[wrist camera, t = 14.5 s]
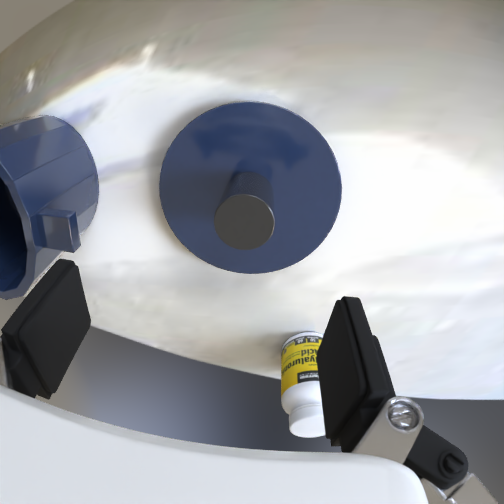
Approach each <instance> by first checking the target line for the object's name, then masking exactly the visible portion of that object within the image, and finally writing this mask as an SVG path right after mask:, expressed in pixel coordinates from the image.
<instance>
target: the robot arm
mask: <svg viewBox="0 0 504 504" xmlns="http://www.w3.org/2000/svg"><path fill="white" fill-rule="evenodd" d="M90 324H91V319H90V315H89V311H88V307H87V303H86V299H85V295H84V291H83V287H82V282H81V278H80V273H79V268H78V266H76V265H75V263H74V261H71V260H65V259H59V260H57V261H56V262H55V264H54V265H53V266H52V267H51V268H50V269H49V270H48V272H47V273H46V274H45V275H44V276H43V277H42V279H41V280H40V281H39V282H38V283H37V285H36V286H35V287H34V288H33V289H32V291H31V292H30V293H29V294H28V295H27V297H26V298H25V299H24V300H23V302H22V303H21V304H20V305H19V307H18V308H17V309H16V311H15V312H14V313H13V315H12V316H11V317H10V319H9V320H8V321H7V323H6V324H5V325H4V327H3V328H2V329H1V331H2V333H3V334H2V335H1V337H0V504H499V503H498V502H497V500H496V499H495V498H494V497H493V496H492V494H491V493H490V492H489V491H488V490H487V488H486V487H485V486H484V485H483V484H482V482H481V481H480V480H479V479H478V478H477V476H476V475H475V474H474V473H471V474H469V473H468V461H467V458H466V456H465V454H464V453H463V452H462V451H461V450H460V449H459V448H457V447H456V446H454V445H452V444H451V443H450V442H448V441H447V440H445V439H444V438H442V437H441V436H439V435H438V434H436V433H435V432H433V431H431V430H430V429H429V428H427V427H426V426H424V425H423V422H424V415H423V412H422V410H421V408H420V407H419V405H418V404H417V403H416V402H414V401H413V400H412V399H409V398H407V397H402V396H398V397H396V395H395V391H394V388H393V385H392V381H391V378H390V375H389V372H388V368H387V365H386V362H385V359H384V356H383V353H382V350H381V347H380V344H379V341H378V339H377V337H376V336H375V335H372V333H371V330H370V327H369V324H368V321H367V318H366V315H365V312H364V309H363V306H362V303H361V301H360V299H359V298H357V297H346V296H344V297H342V299H341V300H337V301H336V303H335V306H334V308H333V311H332V314H331V317H330V319H329V322H328V325H327V328H326V330H325V333H324V335H323V338H322V341H321V343H320V346H319V348H318V351H317V356H316V361H317V369H318V376H319V384H320V392H321V400H322V409H323V418H324V427H325V435H326V438H327V439H330V440H331V446H341V450H342V452H343V453H333V452H332V453H331V452H289V451H288V452H287V451H271V450H270V451H269V450H255V449H243V448H233V447H224V446H216V445H208V444H201V443H195V442H189V441H182V440H176V439H172V438H166V437H161V436H156V435H151V434H147V433H143V432H138V431H134V430H130V429H126V428H122V427H118V426H115V425H111V424H108V423H104V422H101V421H97V420H94V419H90V418H87V417H84V416H81V415H78V414H75V413H72V412H69V411H66V410H63V409H61V408H58V407H55V406H52V405H49V404H47V403H45V402H42V401H39V400H37V399H35V396H36V395H38V396H41V397H44V398H46V399H50V397H51V395H52V393H55V392H56V391H57V389H58V387H59V385H60V383H61V381H62V379H63V377H64V375H65V373H66V371H67V369H68V367H69V365H70V363H71V361H72V359H73V357H74V355H75V353H76V352H77V350H78V348H79V346H80V344H81V342H82V340H83V339H84V337H85V335H86V333H87V331H88V329H89V327H90Z"/></svg>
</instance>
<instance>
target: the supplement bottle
mask: <svg viewBox="0 0 504 504" xmlns="http://www.w3.org/2000/svg"><path fill="white" fill-rule="evenodd" d="M322 338H323V335H322V334H319V333H315V332H304V333H300V334H297V335H295V336H293V337H291V338H289V339H288V340H287V341H286V342H285V343H284V345H283V347H282V354H281V400H282V407H283V409H284V410H285V412H286V413H288V414H289V428H290V431H291V432H292V433H293V434H294V435H296V436H299V437H318V436H322V435H325V427H324V418H323V409H322V400H321V392H320V384H319V376H318V369H317V361H316V356H317V351H318V348H319V346H320V343H321V341H322Z"/></svg>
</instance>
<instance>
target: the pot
mask: <svg viewBox="0 0 504 504" xmlns="http://www.w3.org/2000/svg"><path fill="white" fill-rule="evenodd" d="M98 195H99V184H98V175H97V170H96V166H95V163H94V159H93V157H92V154H91V152H90V150H89V148H88V146H87V144H86V143H85V141H84V140H83V138H82V137H81V135H80V134H79V133H78V132H77V131H76V130H75V129H74V128H73V127H72V126H71V125H69V124H68V123H67V122H65V121H63V120H61V119H59V118H57V117H54V116H49V115H39V116H34V117H27V118H23V119H20V120H16V121H13V122H10V123H6V124H3V125H0V298H3V299H5V300H8V299H12V298H17V297H21V296H24V295H25V294H26V292H27V291H28V290H29V289H30V288H31V287H32V286H33V285H34V283H35V282H36V281H37V280H38V279H39V278H40V277H41V276H42V275H43V274H44V272H45V271H46V270H47V269H48V268H49V267H50V266H51V265H52V264H53V263H54V262H55V261H56V260H57V259H58V258H59V257H60V256H61V255H62V254H63V253H64V252H65V251H66V252H72V253H74V252H75V251H76V250H77V249H78V248H79V247H80V245H81V243H80V235H81V234H82V233H83V232H84V231H85V230H86V229H87V227H88V226H89V225H90V223H91V221H92V219H93V217H94V214H95V211H96V207H97V203H98Z"/></svg>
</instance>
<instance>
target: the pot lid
mask: <svg viewBox="0 0 504 504" xmlns="http://www.w3.org/2000/svg"><path fill="white" fill-rule="evenodd" d="M159 189H160V199H161V205H162V209H163V212H164V215H165V218H166V220H167V222H168V224H169V226H170V228H171V229H172V231H173V232H174V234H175V236H176V237H177V238H178V239H179V240H180V242H181V243H182V244H183V245H184V246H185V247H186V248H187V249H188V250H189V251H190V252H192V253H193V254H194V255H196V256H197V257H198V258H200V259H202V260H203V261H205V262H207V263H209V264H211V265H213V266H216V267H218V268H221V269H224V270H227V271H232V272H237V273H247V274H258V273H267V272H273V271H277V270H280V269H283V268H286V267H288V266H291V265H293V264H295V263H297V262H299V261H301V260H302V259H304V258H305V257H306V256H308V255H309V254H311V253H312V252H313V251H314V250H315V249H316V248H317V247H318V246H319V245H320V244H321V243H322V242H323V240H324V239H325V238H326V237H327V235H328V233H329V232H330V230H331V229H332V227H333V225H334V223H335V220H336V218H337V215H338V212H339V208H340V203H341V194H342V184H341V175H340V171H339V167H338V163H337V161H336V158H335V156H334V153H333V151H332V150H331V148H330V146H329V145H328V143H327V141H326V140H325V139H324V138H323V136H322V135H321V134H320V133H319V131H318V130H316V129H315V128H314V127H313V126H312V125H311V124H310V123H309V122H308V121H306V120H305V119H303V118H302V117H301V116H299V115H297V114H296V113H294V112H292V111H290V110H288V109H285V108H283V107H280V106H277V105H273V104H269V103H264V102H252V101H246V102H235V103H230V104H226V105H222V106H219V107H216V108H214V109H211V110H209V111H207V112H205V113H203V114H201V115H200V116H198V117H197V118H195V119H194V120H193V121H191V122H190V123H189V124H188V125H187V126H186V127H185V128H184V129H183V130H181V131H180V133H179V134H178V135H177V137H176V138H175V139H174V140H173V142H172V144H171V145H170V147H169V149H168V151H167V153H166V156H165V158H164V161H163V164H162V168H161V173H160V182H159Z"/></svg>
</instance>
